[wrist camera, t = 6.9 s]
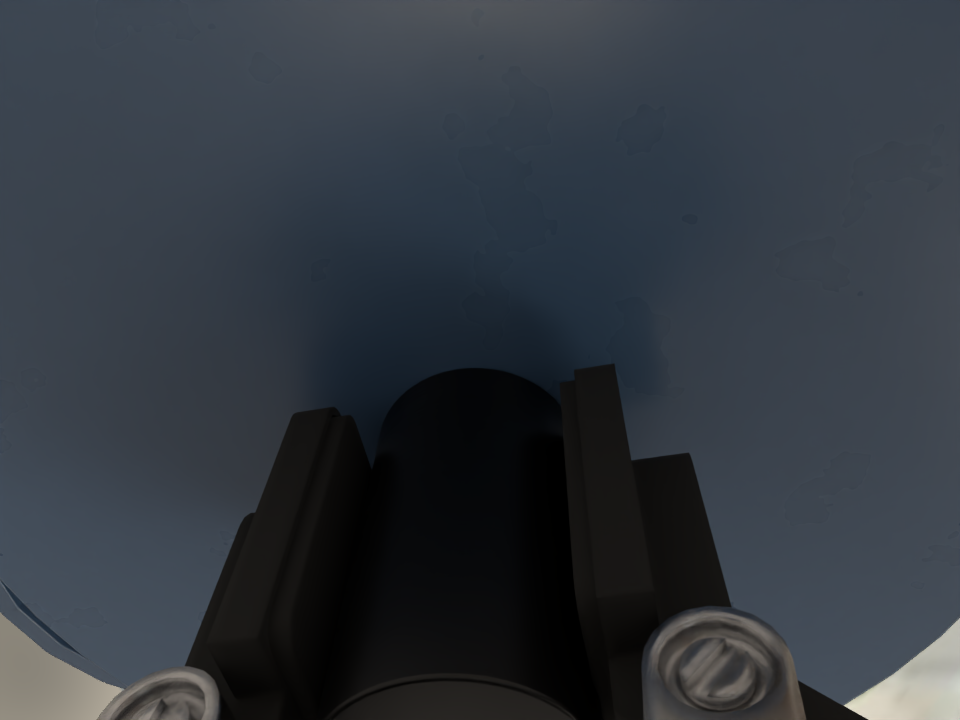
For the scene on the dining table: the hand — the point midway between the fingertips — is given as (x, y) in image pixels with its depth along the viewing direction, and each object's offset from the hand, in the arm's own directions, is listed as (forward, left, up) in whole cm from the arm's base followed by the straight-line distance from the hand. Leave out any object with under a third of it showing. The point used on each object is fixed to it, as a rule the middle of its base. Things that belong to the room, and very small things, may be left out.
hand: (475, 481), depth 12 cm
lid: (0, 0, -1) cm, 1 cm away
